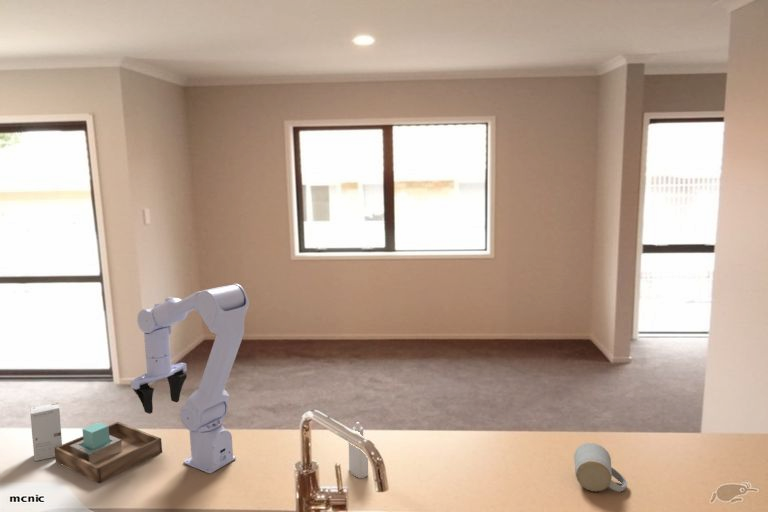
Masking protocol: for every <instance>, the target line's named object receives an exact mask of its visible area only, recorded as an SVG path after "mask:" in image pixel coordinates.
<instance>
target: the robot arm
mask: <svg viewBox="0 0 768 512" xmlns="http://www.w3.org/2000/svg"><path fill="white" fill-rule="evenodd" d="M248 297H249V296H248V295H247V292H246V290H245V289H244V287H242V285H240V284H238V283H232V284H229V285H223V286H218V287H213V288H208V289H203V290H200V291H196V292H193V293H192V294H190V295H188V296H187V297H184V298H182V299H181V298H178V297H174V296H169V297H167V298H164V301H165V302H164V301H163V302H162V303H161V302H158V303H155V304H154V306H153V307H149V308H143V309H141V310H140V311H139V312H138V314H137V325H138V327H139V329H140V331H141V332H143V337H144V352H145V362H146V366H145V367H146V372H145V373H142V374H141V375H139V376H137V377H135V378H133V379H131V380H130V388H131V389H132V390H133V391H134V394H136V396H137V397H138V398H139V400H140V402H141V404H142V407H143V410H144V413H146V414H153V411H154V407H153V397H154V391H155V388H154V387H152V386H151V387H150V385H149V384H152V383H155V382H156V381H160V380H162V379H165V378H167V381H168V385H169V392H170V400H171V402H174V403H178V402H180V396H181V392H182V388H183V385H184V383H185V381H186V379H187V373H185V372H187V369H188V366H187V363H185V362H179V363H175V364H172V353H171V342H170V339H171V338H170V336H171V335H172V326H173V325H175V324H177V323H180V322H183V321H184V320H186V318H187V317H188V314H189V313H190V312H192V311H195V312H196V313H198V314H199V316H200V317H201V319H202V320H203V323H204V324H205V325H206V328H208V330H209V331H210V333H212V334H215V339H214V341H213V345H212V346H211V347H212V348H211V351H210V353H209V357H208V359H207V363H206V365H205V369H204V371H203V375H202V377H201V381H200V383H199V385H198V388H197V389H196V390H195V391H194V392H193V393H192V394H191V395H190V396H189V397H188V398H187V400H186V402H185V404H183V405H182V406H181V407H180V410H179V411H180V413H179V418H180V422H181V424H182V425H183V427H184V428H185V429H187V430H188V431H189V441H190V454H191V455H190V457H188V458H186V459H184V460H183V464H186V465H187V466H190V467H193V468H195V469H198V470H200V471H203V472H205V473H207V474H212V473H214V472H215V471H217V470H219V469H221V468H223V467H224V466H227V464H229V463H231V462H232V461H234V460H236V459H237V457H236V456H235V455H234V454H233V453H234V451H233V437H232V436H233V435H232V434H231V432H230V430H227V429H226V428H225V427H224V425H223V422H224V421H225V419H224V418H225V416H227V414H228V412H229V400H230V395H229V393H228V391H226V390H225V388H226V385H227V382H228V380H229V377H230V374H231V372H232V371H231V370H232V368H233V365H234V362H235V361H236V357H237V355H238V352H239V348H240V346H241V343H242V340H243V337H244V334H245V320H246V314H247V311H248V308H249V306H250V301H249V298H248Z"/></svg>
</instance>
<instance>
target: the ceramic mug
mask: <svg viewBox="0 0 768 512" xmlns="http://www.w3.org/2000/svg"><path fill="white" fill-rule="evenodd" d="M610 455H611V454H610V453H609V452H608V450H607V449H606V448H605V447H604V446H602V445H600V444H598V443H594V442H585V443H582V444H581V445H579V446H578V447H577V448H576V449H575V452H574V457H573V458H574V459H573V462H574V473H575V477H576V480H577V482H578V483H579V485H581V486H582V488H584V489H586V490H587V491H589V490H590V492H594V491H595V493H596V492H597V491H599V492H602V491H605V490H606V489H608V488H609V489H611V490H612V491H615V492H617V493H622V492H621V491H623V490H624V491H625V490H626V488H627V486H628V481H627V480H626V478H625V477H624V476H623V475H622V474H621V473H620V472H619V471H618V470H616V469H615V468H613V467H612V458H611V456H610ZM612 478H615V479H616V480H617V481H618V482H619V481H620V482H621V483H622V485H621V483H620V482H619V483H620V484H617V483H615V482H613V481H612ZM624 491H623V492H624Z"/></svg>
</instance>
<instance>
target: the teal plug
mask: <svg viewBox="0 0 768 512" xmlns="http://www.w3.org/2000/svg"><path fill="white" fill-rule="evenodd" d="M108 426H109V425H107V424H104V423H102V422H96V423H94V424H91V425H88V426H86V427H83V428H82V436H83V440H84V448H86V449H88V450H93V449H96V448H98V447H100V446H102V445H105V444H107V443H109V442H110V438H109V427H108Z"/></svg>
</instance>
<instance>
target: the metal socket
mask: <svg viewBox="0 0 768 512" xmlns="http://www.w3.org/2000/svg"><path fill="white" fill-rule="evenodd" d="M109 438H110V442H109V443H107V444H105V445H102V446H100V447H98V448H96V449H93V450H88V449H86V448H84V440H82V441H79V442H77V443H75V444H72V445H70V453H71V454H73V455H75V456H77V457H79V458H81V459H84V460H86V461H88V462H90V463H92V464H96V463H98V462H100V461H103V460H105V459H107V458H109V457H111V456H113V455H115V454H118V453H120V452H122V444H121V440H120V439H118V438H116V437H113V436H111V435H109Z"/></svg>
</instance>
